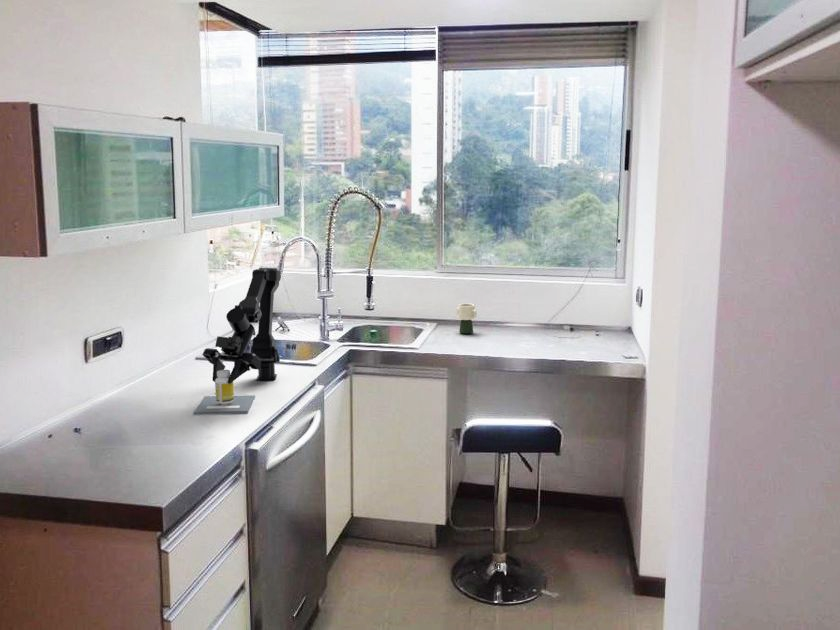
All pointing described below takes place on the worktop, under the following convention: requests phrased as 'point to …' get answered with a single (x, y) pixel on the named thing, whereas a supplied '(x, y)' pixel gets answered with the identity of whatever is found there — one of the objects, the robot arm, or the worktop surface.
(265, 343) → the robot arm
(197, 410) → the letter board
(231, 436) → the worktop surface
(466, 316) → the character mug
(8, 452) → the worktop surface
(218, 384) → the supplement bottle
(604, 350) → the worktop surface
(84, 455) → the worktop surface
